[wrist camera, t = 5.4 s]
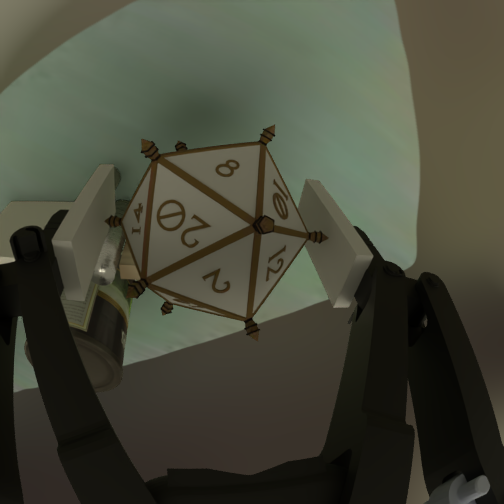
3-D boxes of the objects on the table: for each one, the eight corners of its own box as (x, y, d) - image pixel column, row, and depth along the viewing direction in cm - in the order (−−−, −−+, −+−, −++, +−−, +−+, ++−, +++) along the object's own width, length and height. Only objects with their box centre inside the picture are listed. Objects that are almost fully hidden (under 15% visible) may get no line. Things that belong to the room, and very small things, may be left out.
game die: (177, 174, 20) (44, 253, 12) (255, 72, 14) (70, 105, 6) (271, 279, 20) (173, 401, 13) (379, 208, 14) (308, 375, 7)
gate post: (113, 218, 32) (89, 284, 24) (112, 199, 31) (84, 262, 23) (134, 219, 33) (115, 286, 25) (133, 200, 31) (112, 263, 23)
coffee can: (151, 261, 37) (138, 362, 25) (118, 311, 41) (104, 402, 30) (74, 223, 32) (30, 317, 21) (52, 280, 36) (20, 368, 25)
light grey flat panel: (13, 212, 29) (-26, 266, 21) (11, 201, 28) (-31, 254, 20) (110, 215, 32) (86, 276, 24) (109, 202, 31) (83, 262, 23)
